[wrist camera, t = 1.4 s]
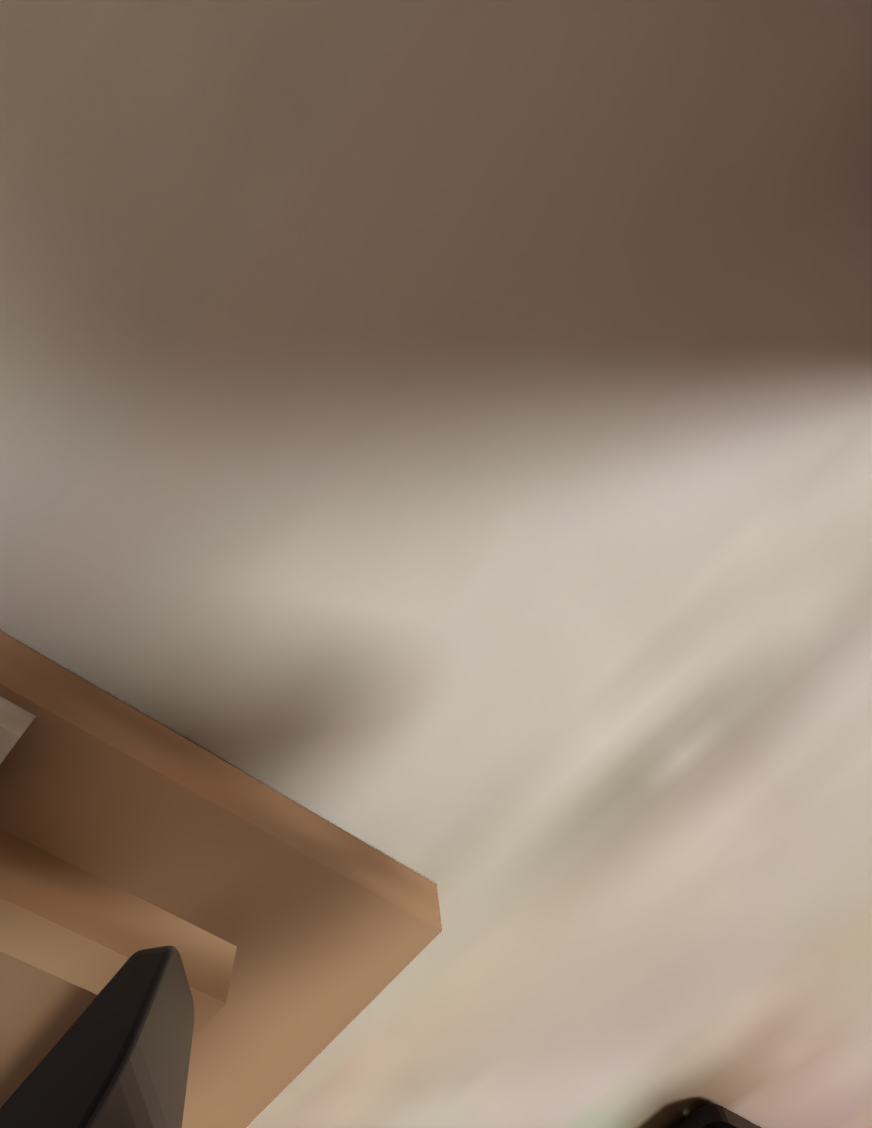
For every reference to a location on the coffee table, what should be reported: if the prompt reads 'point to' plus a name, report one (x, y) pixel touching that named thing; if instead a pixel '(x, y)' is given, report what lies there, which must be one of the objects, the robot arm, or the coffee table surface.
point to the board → (180, 893)
